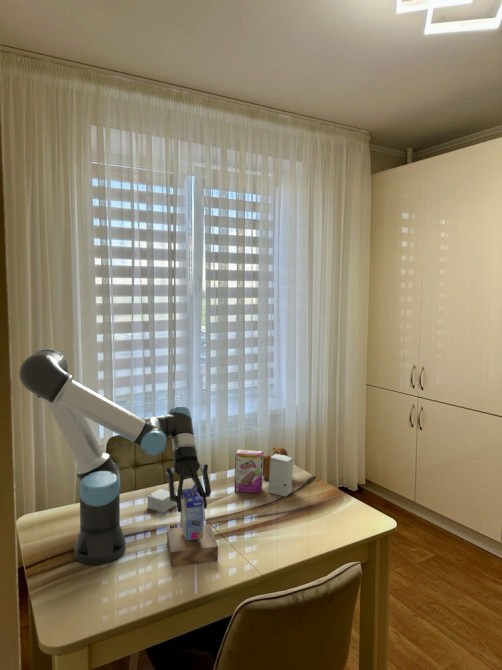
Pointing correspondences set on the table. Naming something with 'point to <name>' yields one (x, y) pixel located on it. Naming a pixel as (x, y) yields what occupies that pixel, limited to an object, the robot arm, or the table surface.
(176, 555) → the walnut block
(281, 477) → the skincare box
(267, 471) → the stuffed squirrel
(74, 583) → the table surface
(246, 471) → the candy bar box
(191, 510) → the ink cartridge box
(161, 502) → the small box
